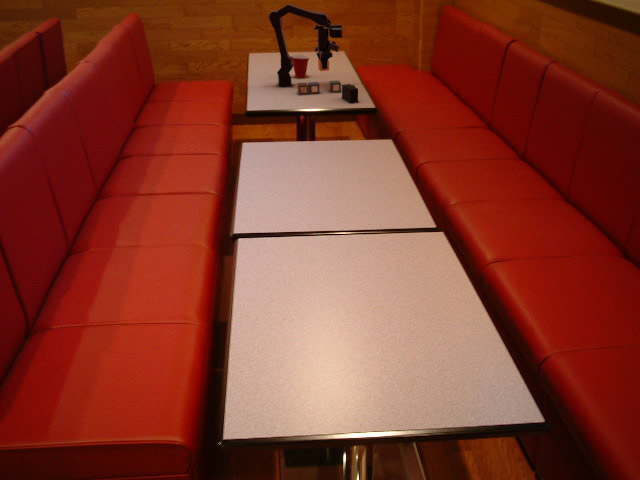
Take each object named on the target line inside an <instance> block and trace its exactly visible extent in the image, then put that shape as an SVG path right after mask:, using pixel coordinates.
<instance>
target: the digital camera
mask: <svg viewBox="0 0 640 480" xmlns="http://www.w3.org/2000/svg"><path fill="white" fill-rule="evenodd" d="M341 99H342V100H344V101H346V102H348V103H349V104H355V103H356V104H357V103H359V88H358V87H356V86H355V85H354V84H351V83H347V84H341Z"/></svg>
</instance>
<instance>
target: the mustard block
mask: <svg viewBox="0 0 640 480" xmlns="http://www.w3.org/2000/svg"><path fill="white" fill-rule="evenodd" d="M317 64H318V69H317V70H319V71H320V72H326V71H327V72H328V71H330V60H328V62H327V66H326V69H324V68H323V66H322V63H321V60H319V59H318V60H317Z"/></svg>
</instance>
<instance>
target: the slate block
mask: <svg viewBox="0 0 640 480" xmlns="http://www.w3.org/2000/svg"><path fill="white" fill-rule="evenodd" d="M307 84H308V94H309V95H319V94H320V83H319V82H318V81H309V82H307Z"/></svg>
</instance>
